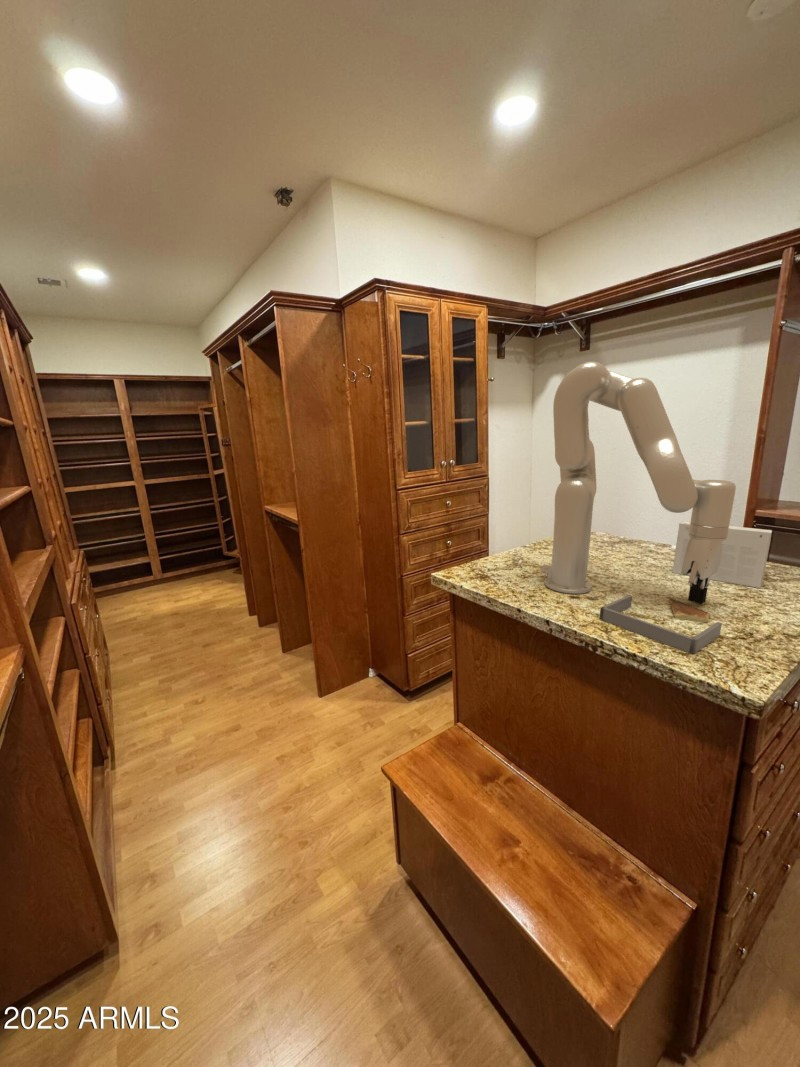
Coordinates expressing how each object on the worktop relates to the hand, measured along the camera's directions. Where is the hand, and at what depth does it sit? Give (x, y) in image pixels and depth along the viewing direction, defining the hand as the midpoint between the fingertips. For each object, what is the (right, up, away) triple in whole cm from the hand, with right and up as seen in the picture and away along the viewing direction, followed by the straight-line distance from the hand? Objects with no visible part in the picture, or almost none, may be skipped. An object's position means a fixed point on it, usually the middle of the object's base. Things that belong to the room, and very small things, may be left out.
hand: (696, 601), depth 103 cm
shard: (-7, -3, -4) cm, 8 cm away
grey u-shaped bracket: (-17, -4, -11) cm, 20 cm away
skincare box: (+19, +4, +18) cm, 26 cm away
